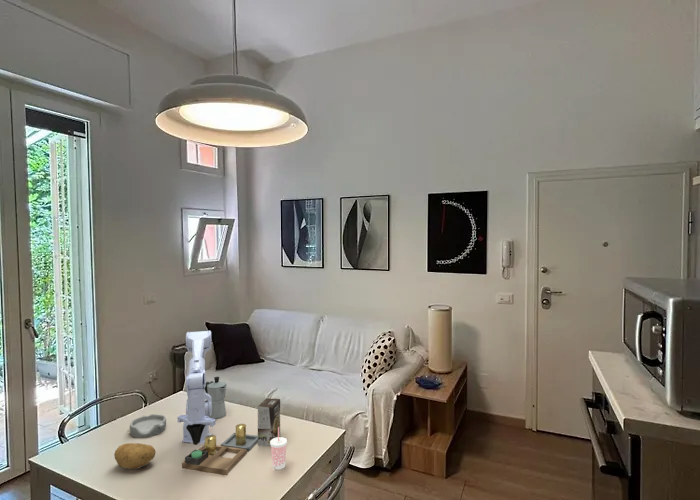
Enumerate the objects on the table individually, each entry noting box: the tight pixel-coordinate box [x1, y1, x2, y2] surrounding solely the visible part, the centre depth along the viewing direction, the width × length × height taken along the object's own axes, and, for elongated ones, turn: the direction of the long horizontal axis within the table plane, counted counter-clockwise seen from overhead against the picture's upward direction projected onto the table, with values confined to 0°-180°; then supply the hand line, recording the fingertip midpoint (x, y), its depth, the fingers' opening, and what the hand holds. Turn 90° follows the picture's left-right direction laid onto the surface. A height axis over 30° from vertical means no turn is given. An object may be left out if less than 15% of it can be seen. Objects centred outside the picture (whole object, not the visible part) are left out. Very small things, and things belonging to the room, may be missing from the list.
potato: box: [113, 442, 157, 470], centre depth 141 cm, size 10×14×8 cm
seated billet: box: [204, 434, 217, 456], centre depth 148 cm, size 4×4×7 cm
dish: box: [129, 413, 167, 439], centre depth 168 cm, size 14×14×5 cm
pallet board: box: [181, 443, 248, 477], centre depth 144 cm, size 18×14×4 cm
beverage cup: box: [270, 427, 288, 470], centre depth 141 cm, size 6×6×14 cm
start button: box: [191, 449, 202, 458], centre depth 141 cm, size 4×4×2 cm
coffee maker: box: [205, 376, 228, 420], centre depth 184 cm, size 15×9×18 cm, turn 59°
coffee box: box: [257, 397, 281, 448], centre depth 158 cm, size 9×6×16 cm
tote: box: [220, 432, 258, 453], centre depth 156 cm, size 12×10×2 cm
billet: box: [235, 423, 247, 446], centre depth 156 cm, size 4×4×7 cm
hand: (196, 443), depth 141 cm, fingers closed
